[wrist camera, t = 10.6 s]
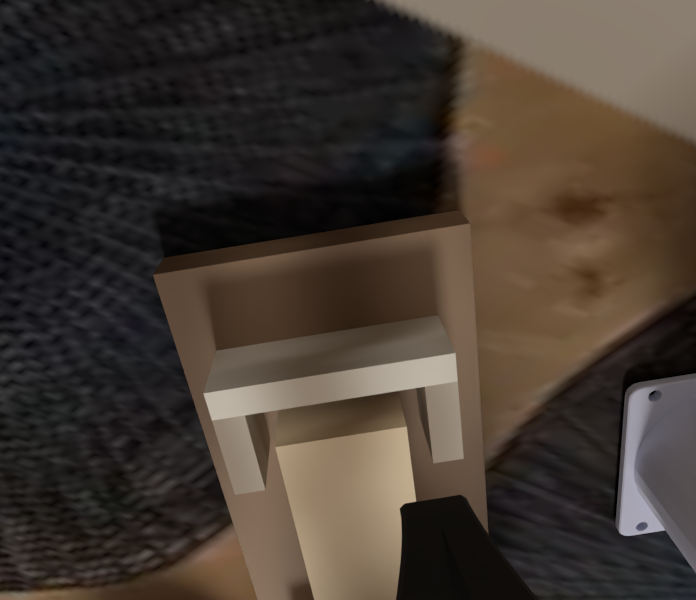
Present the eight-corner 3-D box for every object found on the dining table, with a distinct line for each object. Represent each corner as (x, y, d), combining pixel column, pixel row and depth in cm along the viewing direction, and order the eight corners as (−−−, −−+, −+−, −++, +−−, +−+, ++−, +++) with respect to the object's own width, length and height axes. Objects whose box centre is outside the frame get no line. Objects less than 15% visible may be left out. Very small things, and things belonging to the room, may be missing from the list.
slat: (393, 372, 20) (406, 426, 17) (427, 631, 26) (441, 702, 23) (280, 390, 20) (275, 447, 17) (340, 645, 26) (344, 716, 23)
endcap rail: (458, 209, 19) (493, 251, 15) (488, 657, 29) (514, 746, 26) (164, 258, 19) (129, 309, 15) (297, 687, 29) (295, 779, 26)
